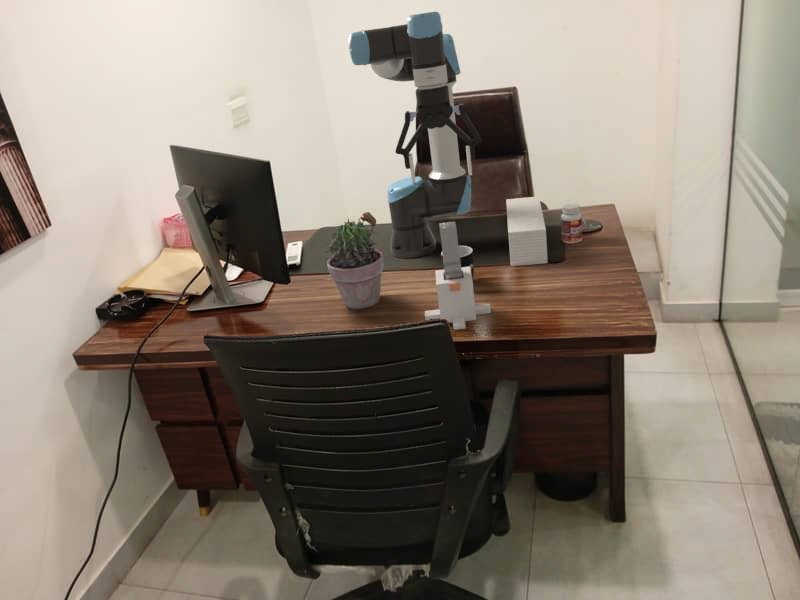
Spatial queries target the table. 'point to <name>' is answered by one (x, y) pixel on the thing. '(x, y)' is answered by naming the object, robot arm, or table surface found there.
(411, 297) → the table surface
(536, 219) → the stack of papers
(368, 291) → the potted plant
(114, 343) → the table surface
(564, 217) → the pill bottle
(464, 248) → the mug
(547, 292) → the table surface
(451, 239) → the post
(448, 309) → the housing
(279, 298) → the table surface
